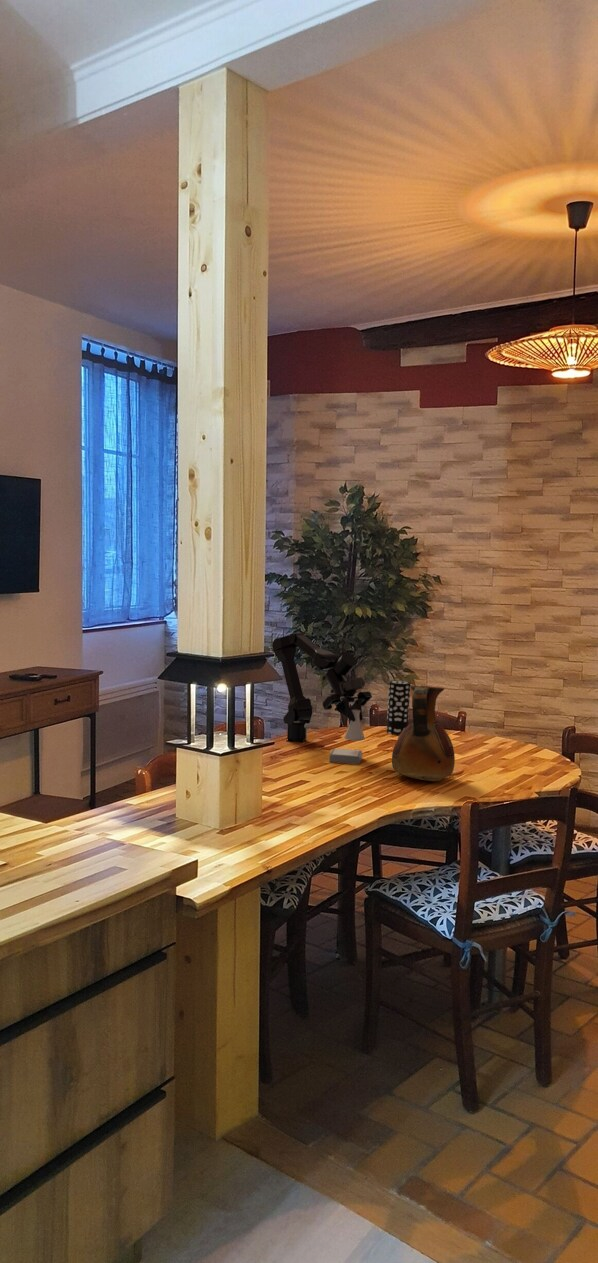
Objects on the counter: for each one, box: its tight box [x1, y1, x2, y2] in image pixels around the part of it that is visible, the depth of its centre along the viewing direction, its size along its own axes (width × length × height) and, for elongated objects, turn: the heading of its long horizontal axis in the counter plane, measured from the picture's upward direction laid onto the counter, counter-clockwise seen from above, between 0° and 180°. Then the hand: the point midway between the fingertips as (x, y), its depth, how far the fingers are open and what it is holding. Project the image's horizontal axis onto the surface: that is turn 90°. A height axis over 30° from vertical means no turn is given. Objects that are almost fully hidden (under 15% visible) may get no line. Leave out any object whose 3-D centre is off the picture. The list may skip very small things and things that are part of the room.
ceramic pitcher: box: [391, 684, 456, 782], centre depth 291 cm, size 20×20×30 cm
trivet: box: [329, 748, 363, 765], centre depth 314 cm, size 10×10×3 cm
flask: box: [344, 710, 366, 742], centre depth 316 cm, size 7×7×10 cm
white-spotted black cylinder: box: [385, 680, 412, 736], centre depth 363 cm, size 8×8×20 cm
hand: (358, 720), depth 315 cm, fingers closed on flask, 3 cm apart
